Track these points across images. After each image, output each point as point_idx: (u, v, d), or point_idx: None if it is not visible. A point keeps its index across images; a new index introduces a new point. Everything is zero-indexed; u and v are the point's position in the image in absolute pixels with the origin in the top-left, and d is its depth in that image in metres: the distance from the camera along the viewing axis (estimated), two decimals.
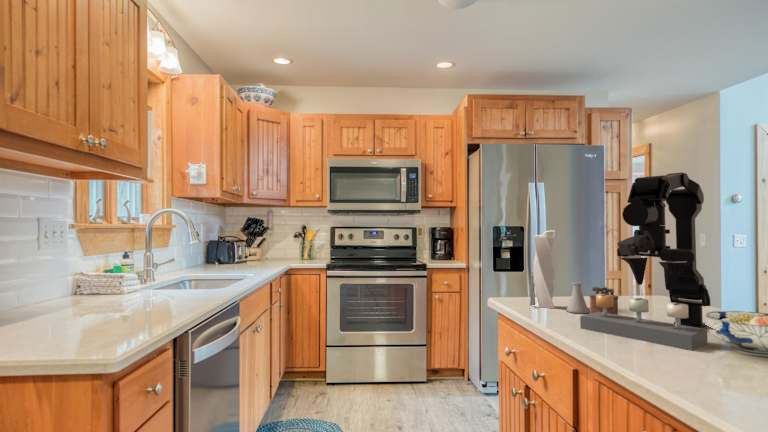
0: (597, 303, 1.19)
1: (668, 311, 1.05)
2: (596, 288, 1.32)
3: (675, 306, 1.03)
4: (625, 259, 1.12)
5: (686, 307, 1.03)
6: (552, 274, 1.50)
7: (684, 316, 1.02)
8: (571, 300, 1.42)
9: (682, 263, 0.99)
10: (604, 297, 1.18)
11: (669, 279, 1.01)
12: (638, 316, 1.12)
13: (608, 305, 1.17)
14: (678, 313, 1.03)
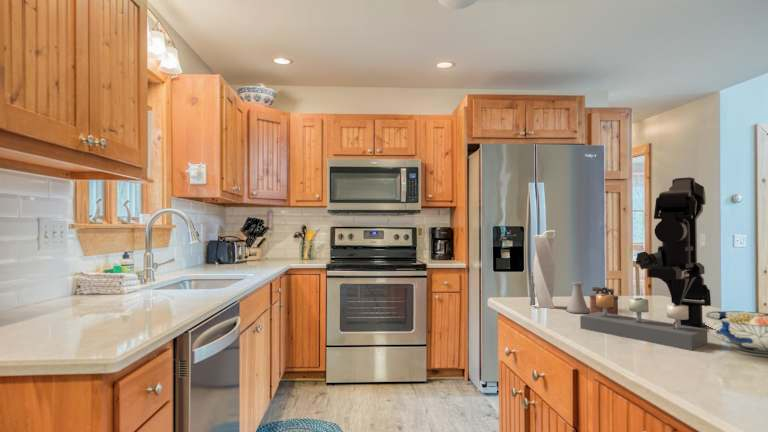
0: (597, 303, 1.19)
1: (668, 312, 1.05)
2: (596, 288, 1.32)
3: (675, 307, 1.03)
4: None
5: (686, 308, 1.03)
6: (552, 274, 1.50)
7: (684, 317, 1.02)
8: (571, 300, 1.42)
9: (673, 279, 1.02)
10: (604, 297, 1.18)
11: (672, 294, 1.05)
12: (638, 316, 1.12)
13: (608, 305, 1.17)
14: (678, 314, 1.03)
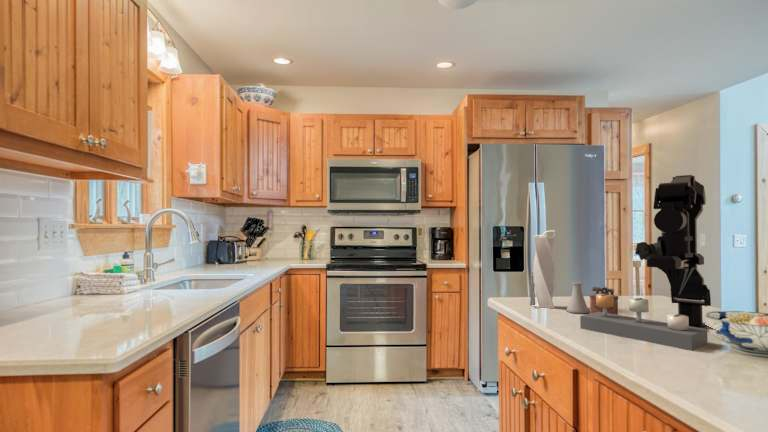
0: (597, 303, 1.19)
1: (668, 322, 1.05)
2: (596, 288, 1.32)
3: (675, 318, 1.03)
4: None
5: (686, 319, 1.03)
6: (552, 274, 1.50)
7: (684, 328, 1.02)
8: (571, 300, 1.42)
9: (673, 269, 1.02)
10: (604, 297, 1.18)
11: (671, 284, 1.05)
12: (638, 316, 1.12)
13: (608, 305, 1.17)
14: (678, 325, 1.03)
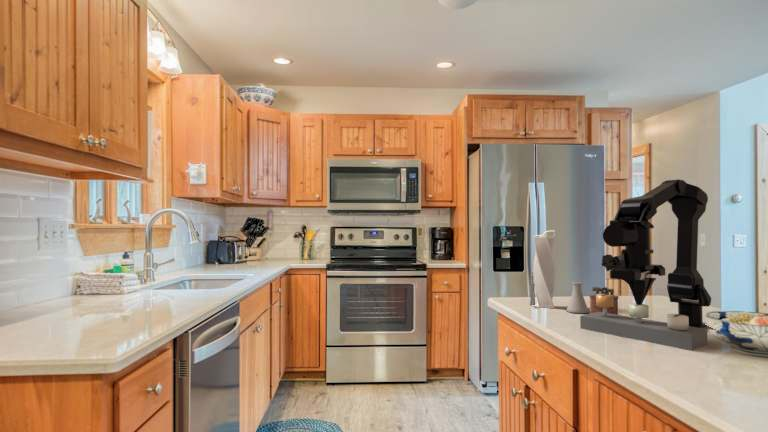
0: (597, 303, 1.19)
1: (668, 322, 1.05)
2: (596, 288, 1.32)
3: (675, 318, 1.03)
4: None
5: (686, 319, 1.03)
6: (552, 274, 1.50)
7: (684, 328, 1.02)
8: (571, 300, 1.42)
9: (634, 280, 1.10)
10: (604, 297, 1.18)
11: (634, 294, 1.12)
12: (638, 322, 1.12)
13: (608, 305, 1.17)
14: (678, 325, 1.03)
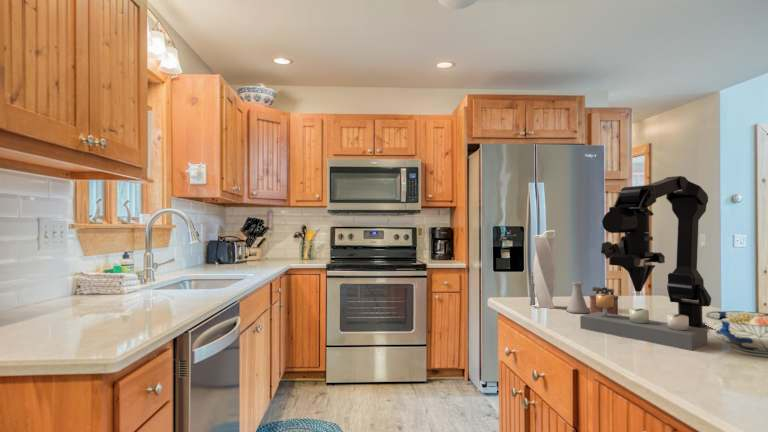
0: (597, 303, 1.19)
1: (668, 322, 1.05)
2: (596, 288, 1.32)
3: (675, 318, 1.03)
4: None
5: (686, 319, 1.03)
6: (552, 274, 1.50)
7: (684, 328, 1.02)
8: (571, 300, 1.42)
9: (634, 267, 1.10)
10: (604, 297, 1.18)
11: (633, 281, 1.12)
12: None
13: (608, 305, 1.17)
14: (678, 325, 1.03)
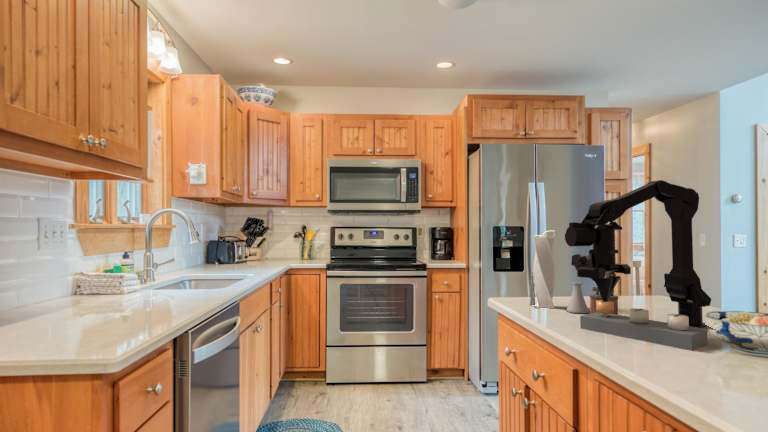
0: (597, 310, 1.19)
1: (668, 322, 1.05)
2: (596, 288, 1.32)
3: (675, 318, 1.03)
4: None
5: (686, 319, 1.03)
6: (552, 274, 1.50)
7: (684, 328, 1.02)
8: (571, 300, 1.42)
9: (600, 278, 1.17)
10: (604, 304, 1.17)
11: (600, 291, 1.19)
12: None
13: (608, 312, 1.17)
14: (678, 325, 1.03)
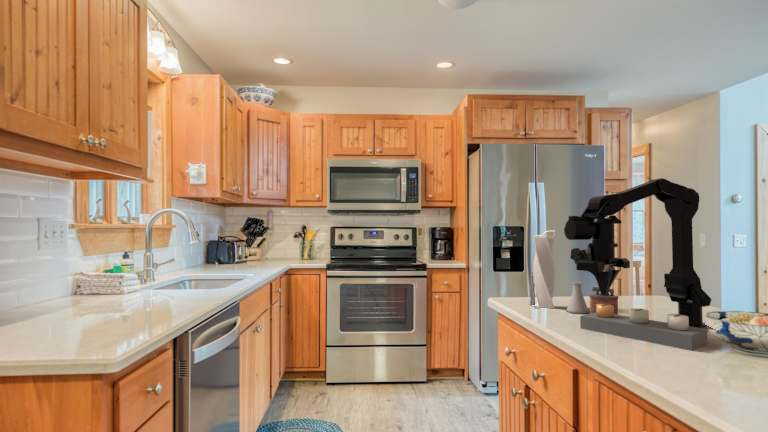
0: (597, 313, 1.19)
1: (668, 322, 1.05)
2: (596, 288, 1.32)
3: (675, 318, 1.03)
4: None
5: (686, 319, 1.03)
6: (552, 274, 1.50)
7: (684, 328, 1.02)
8: (571, 300, 1.42)
9: (599, 272, 1.17)
10: (604, 307, 1.17)
11: (599, 285, 1.19)
12: None
13: (609, 315, 1.17)
14: (678, 325, 1.03)
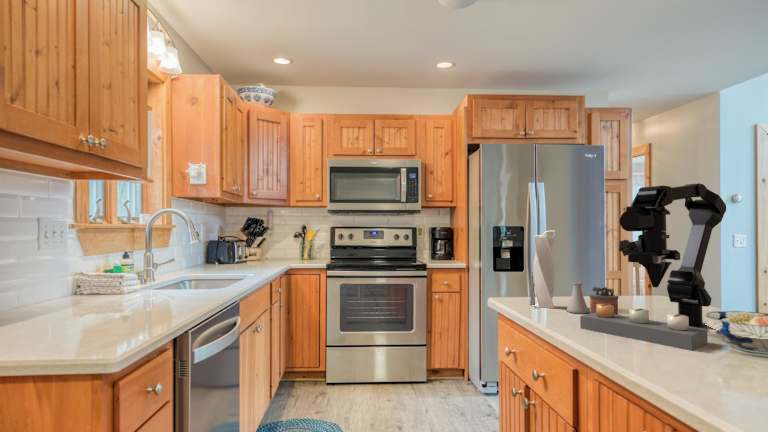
0: (597, 313, 1.19)
1: (668, 322, 1.05)
2: (596, 288, 1.32)
3: (675, 318, 1.03)
4: None
5: (686, 319, 1.03)
6: (552, 274, 1.50)
7: (684, 328, 1.02)
8: (571, 300, 1.42)
9: (651, 263, 1.14)
10: (604, 307, 1.17)
11: (650, 277, 1.17)
12: None
13: (609, 315, 1.17)
14: (678, 325, 1.03)
